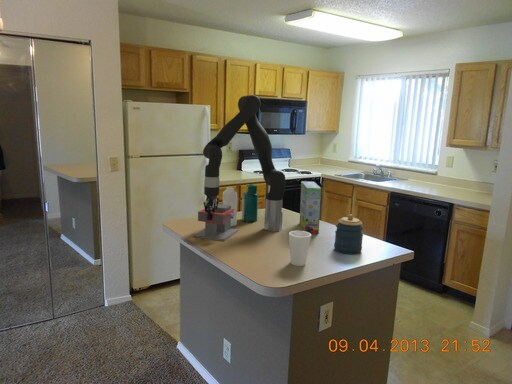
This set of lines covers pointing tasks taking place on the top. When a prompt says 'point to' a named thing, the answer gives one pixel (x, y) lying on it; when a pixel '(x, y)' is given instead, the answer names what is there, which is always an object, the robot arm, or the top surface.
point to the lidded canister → (348, 235)
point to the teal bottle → (250, 204)
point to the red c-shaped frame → (214, 216)
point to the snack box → (310, 207)
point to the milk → (231, 202)
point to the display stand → (218, 227)
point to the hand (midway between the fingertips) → (211, 219)
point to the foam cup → (299, 247)
